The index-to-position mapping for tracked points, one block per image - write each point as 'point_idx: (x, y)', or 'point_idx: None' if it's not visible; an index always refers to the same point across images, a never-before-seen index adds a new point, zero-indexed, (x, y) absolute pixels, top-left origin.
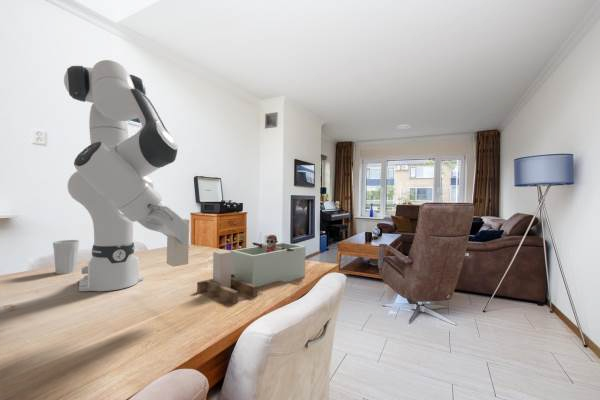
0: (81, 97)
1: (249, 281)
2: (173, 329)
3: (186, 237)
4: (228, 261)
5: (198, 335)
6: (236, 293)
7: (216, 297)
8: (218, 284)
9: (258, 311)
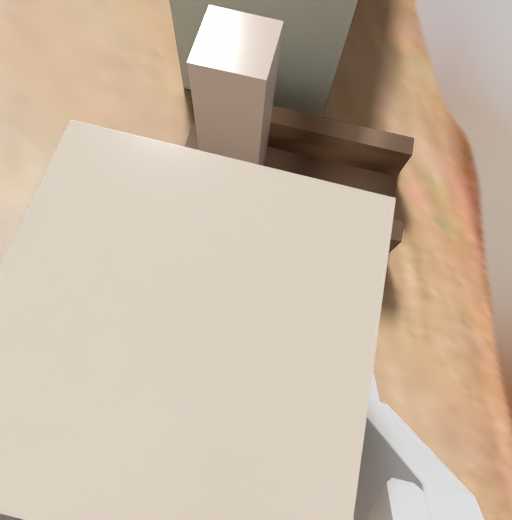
0: None
1: (311, 88)
2: None
3: (373, 372)
4: (273, 77)
5: None
6: (401, 231)
7: None
8: None
9: (459, 237)
